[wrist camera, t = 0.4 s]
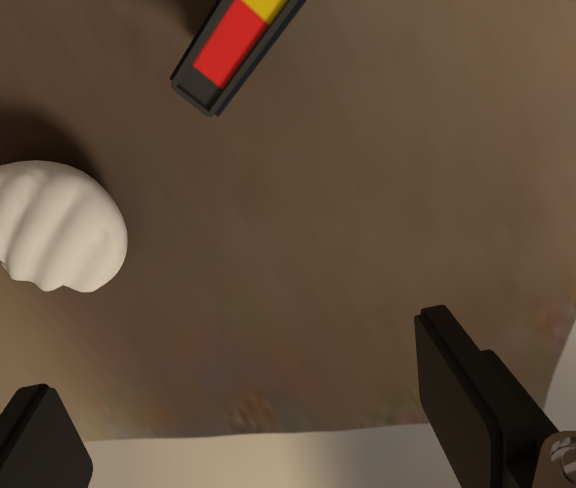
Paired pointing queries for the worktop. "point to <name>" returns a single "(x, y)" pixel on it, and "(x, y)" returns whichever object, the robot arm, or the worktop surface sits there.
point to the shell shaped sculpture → (58, 227)
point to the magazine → (229, 50)
